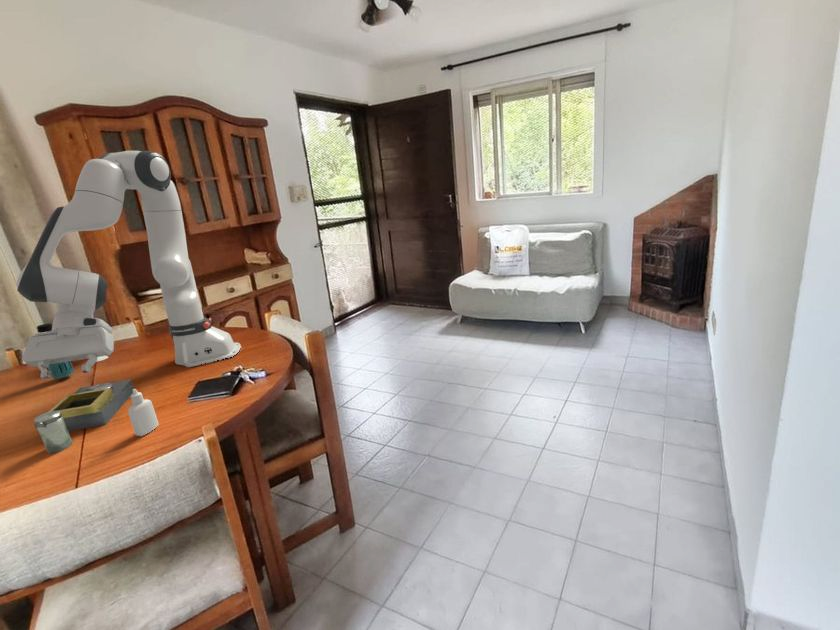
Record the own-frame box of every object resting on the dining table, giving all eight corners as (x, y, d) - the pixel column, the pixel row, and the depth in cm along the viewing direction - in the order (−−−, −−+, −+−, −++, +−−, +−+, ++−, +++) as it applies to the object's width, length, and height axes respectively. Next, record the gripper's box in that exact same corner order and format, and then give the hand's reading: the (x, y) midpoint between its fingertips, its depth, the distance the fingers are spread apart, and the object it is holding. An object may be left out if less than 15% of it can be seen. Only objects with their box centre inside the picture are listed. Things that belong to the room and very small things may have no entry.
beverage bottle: (63, 382, 144) (41, 327, 137) (47, 382, 145) (25, 328, 139) (81, 374, 150) (61, 321, 143) (66, 373, 151) (46, 321, 145)
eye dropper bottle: (133, 432, 109) (119, 391, 105) (157, 422, 113) (144, 382, 109) (138, 438, 106) (123, 396, 102) (162, 428, 110) (149, 387, 106)
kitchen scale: (84, 399, 130) (78, 381, 128) (134, 390, 133) (129, 373, 131) (46, 435, 112) (38, 415, 110) (105, 424, 114) (98, 405, 112)
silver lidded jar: (77, 439, 108) (64, 407, 105) (62, 455, 102) (48, 421, 99) (54, 443, 107) (40, 411, 104) (38, 459, 101) (23, 425, 98)
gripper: (21, 329, 113) (11, 377, 107) (107, 318, 117) (101, 364, 111) (37, 339, 119) (29, 385, 113) (118, 328, 123) (114, 372, 117)
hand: (65, 374), depth 112 cm, fingers open, 8 cm apart
